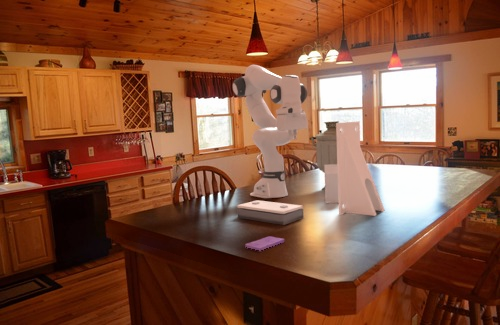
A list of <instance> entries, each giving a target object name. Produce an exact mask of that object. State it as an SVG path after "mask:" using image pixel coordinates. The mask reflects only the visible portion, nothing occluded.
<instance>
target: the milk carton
mask: <svg viewBox="0 0 500 325" xmlns="http://www.w3.org/2000/svg"><path fill="white" fill-rule="evenodd" d="M324 167H325V173H324V186H325V189H324V191H325V192H324V195H325V203H326V204H339V200H338V168H337V164H332V165H324Z"/></svg>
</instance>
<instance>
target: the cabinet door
mask: <svg viewBox="0 0 500 325" xmlns="http://www.w3.org/2000/svg"><path fill="white" fill-rule="evenodd" d="M238 208H244V209H251V210H258V211H265V212H272V213H280V214H285V213H289V212H292V211H295V210H298V209H304V205H300V204H293V203H292V204H291V203H285V202H284V203H282V202H276V201H275V202H273V201H265V200H253V201H250V202H244V203H241V204H237V205H236V209H238Z"/></svg>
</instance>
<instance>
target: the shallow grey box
mask: <svg viewBox="0 0 500 325" xmlns="http://www.w3.org/2000/svg"><path fill="white" fill-rule="evenodd" d="M236 211H237V218H239V219H245V220H252V221H257V222H263V223H269V224H274V225H275V224H276V225H282V226H285V225H287V224H291V223H293V222H296V221H298V220H302V219H304V208H302V209H298V210H295V211H292V212H289V213H285V214H280V213H272V212H265V211H258V210H251V209H244V208H236Z"/></svg>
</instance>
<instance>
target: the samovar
mask: <svg viewBox="0 0 500 325" xmlns="http://www.w3.org/2000/svg"><path fill="white" fill-rule="evenodd" d="M323 123H324V124H325V127H326V129H325V130H324V131H323V130H322V129H320V130H318V132H319V133H318V134H316V135H314V136H311V137H309V140H310V141H312V145H313V146H314V147H315V148H316V150H315V151H316V167H317V168H318V170H320V171H321V172H322V173H323V174H325V167H324V165H332V164H337V137H336V123H340V121H339V120H337V121H324V122H323ZM322 131H323V132H322ZM340 132H341V130H340ZM315 140H316V142H315ZM321 190H322V191H325V185H324V187H322V188H321Z"/></svg>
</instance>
